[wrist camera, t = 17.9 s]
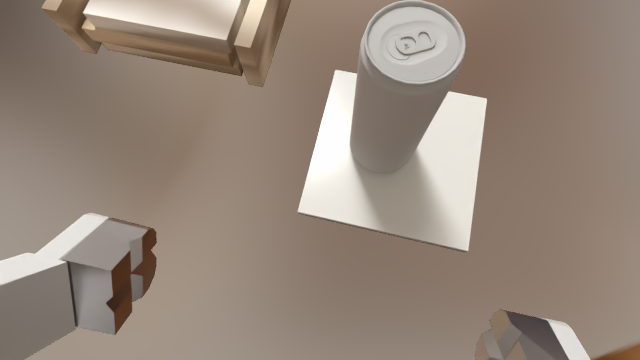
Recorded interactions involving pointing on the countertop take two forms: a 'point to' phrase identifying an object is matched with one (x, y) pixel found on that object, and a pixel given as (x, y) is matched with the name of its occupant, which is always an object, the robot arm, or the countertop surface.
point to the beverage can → (402, 81)
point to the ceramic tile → (399, 174)
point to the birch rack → (250, 43)
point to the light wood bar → (170, 30)
